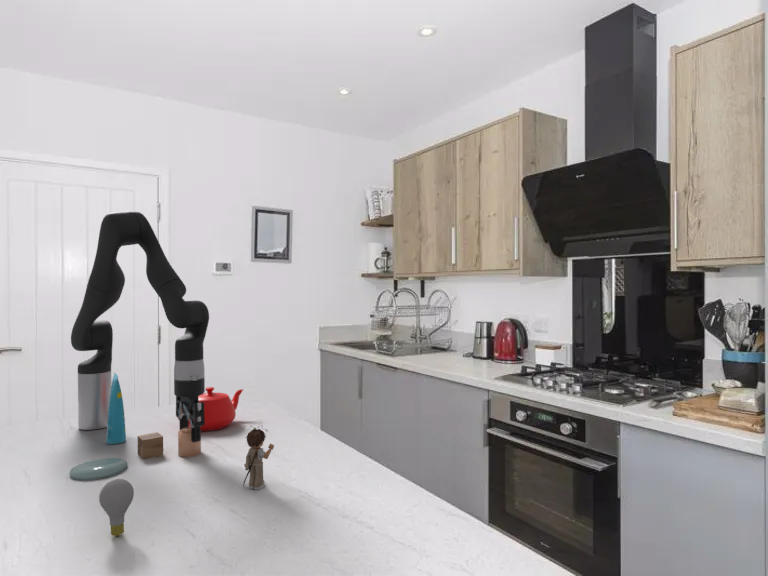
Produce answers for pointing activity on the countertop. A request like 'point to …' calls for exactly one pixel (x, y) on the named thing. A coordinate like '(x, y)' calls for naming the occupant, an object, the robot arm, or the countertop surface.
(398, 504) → the countertop surface
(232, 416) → the teapot
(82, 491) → the countertop surface
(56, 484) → the countertop surface
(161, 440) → the block
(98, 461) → the dish
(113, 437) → the tube
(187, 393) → the robot arm
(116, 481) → the light bulb
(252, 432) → the toy
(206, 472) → the countertop surface
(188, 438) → the dome-topped cylinder
